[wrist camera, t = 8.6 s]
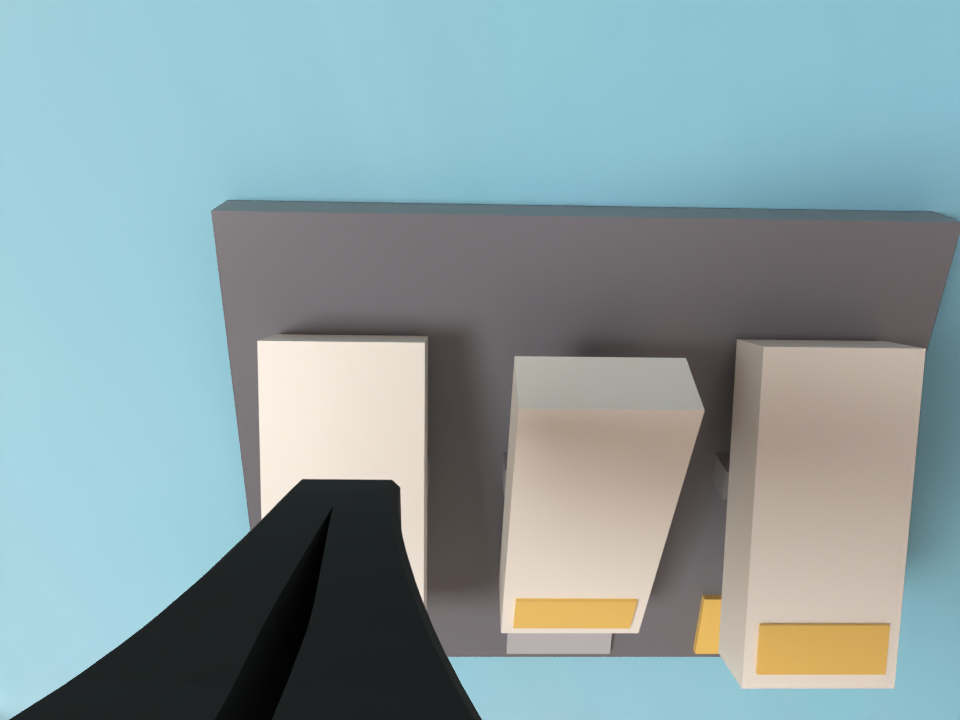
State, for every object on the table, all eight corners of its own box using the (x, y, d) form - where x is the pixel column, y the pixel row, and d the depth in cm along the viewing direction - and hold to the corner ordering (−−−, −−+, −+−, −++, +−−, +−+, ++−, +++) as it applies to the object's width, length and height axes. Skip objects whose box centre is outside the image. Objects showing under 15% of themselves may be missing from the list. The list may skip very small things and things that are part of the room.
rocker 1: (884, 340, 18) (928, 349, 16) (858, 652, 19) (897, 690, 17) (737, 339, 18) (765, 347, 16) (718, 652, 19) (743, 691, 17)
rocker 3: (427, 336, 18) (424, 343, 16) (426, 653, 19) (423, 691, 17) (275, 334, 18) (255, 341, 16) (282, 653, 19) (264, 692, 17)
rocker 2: (686, 358, 16) (705, 413, 14) (628, 580, 21) (638, 637, 19) (514, 356, 15) (518, 412, 14) (498, 580, 21) (500, 636, 19)
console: (932, 211, 18) (988, 231, 16) (824, 627, 23) (856, 680, 21) (227, 200, 18) (197, 219, 16) (275, 626, 23) (257, 681, 21)
